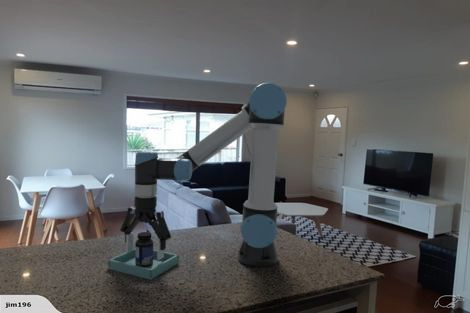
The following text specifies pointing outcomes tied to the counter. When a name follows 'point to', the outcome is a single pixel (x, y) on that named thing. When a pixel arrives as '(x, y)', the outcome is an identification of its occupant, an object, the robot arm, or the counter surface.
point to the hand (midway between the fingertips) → (144, 255)
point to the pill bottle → (144, 250)
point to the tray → (128, 266)
